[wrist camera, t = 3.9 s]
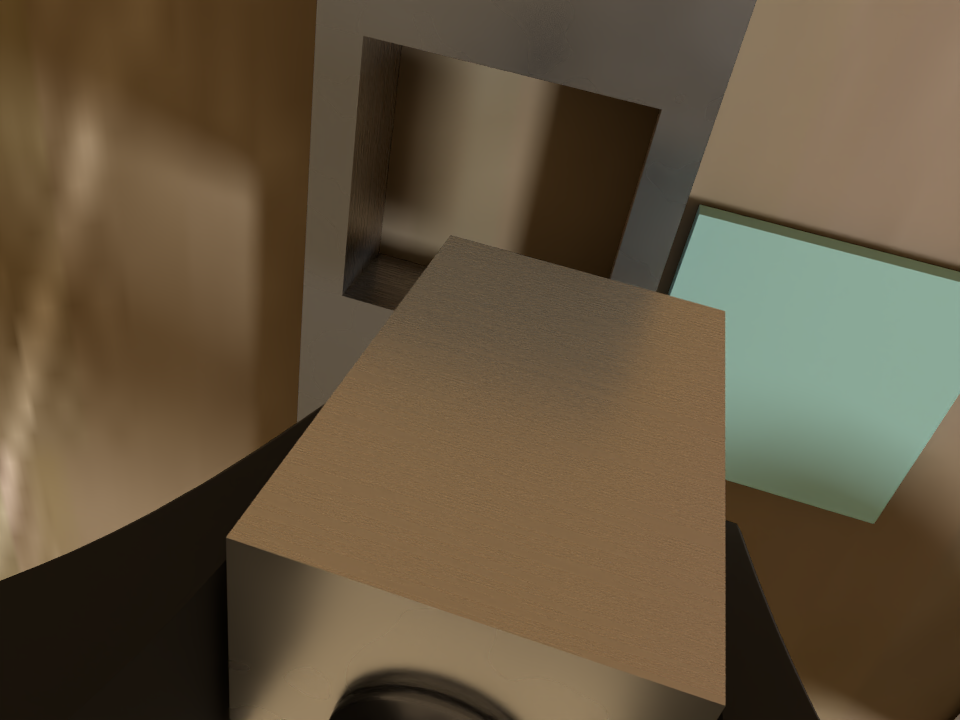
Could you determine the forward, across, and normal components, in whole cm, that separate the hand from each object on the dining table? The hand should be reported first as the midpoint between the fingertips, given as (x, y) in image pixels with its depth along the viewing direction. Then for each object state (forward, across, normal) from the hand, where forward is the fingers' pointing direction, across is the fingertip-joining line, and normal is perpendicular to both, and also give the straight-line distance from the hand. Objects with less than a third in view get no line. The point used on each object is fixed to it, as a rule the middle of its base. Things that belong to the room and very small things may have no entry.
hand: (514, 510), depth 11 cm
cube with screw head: (+3, 0, 0) cm, 3 cm away
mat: (+10, -5, +2) cm, 11 cm away
